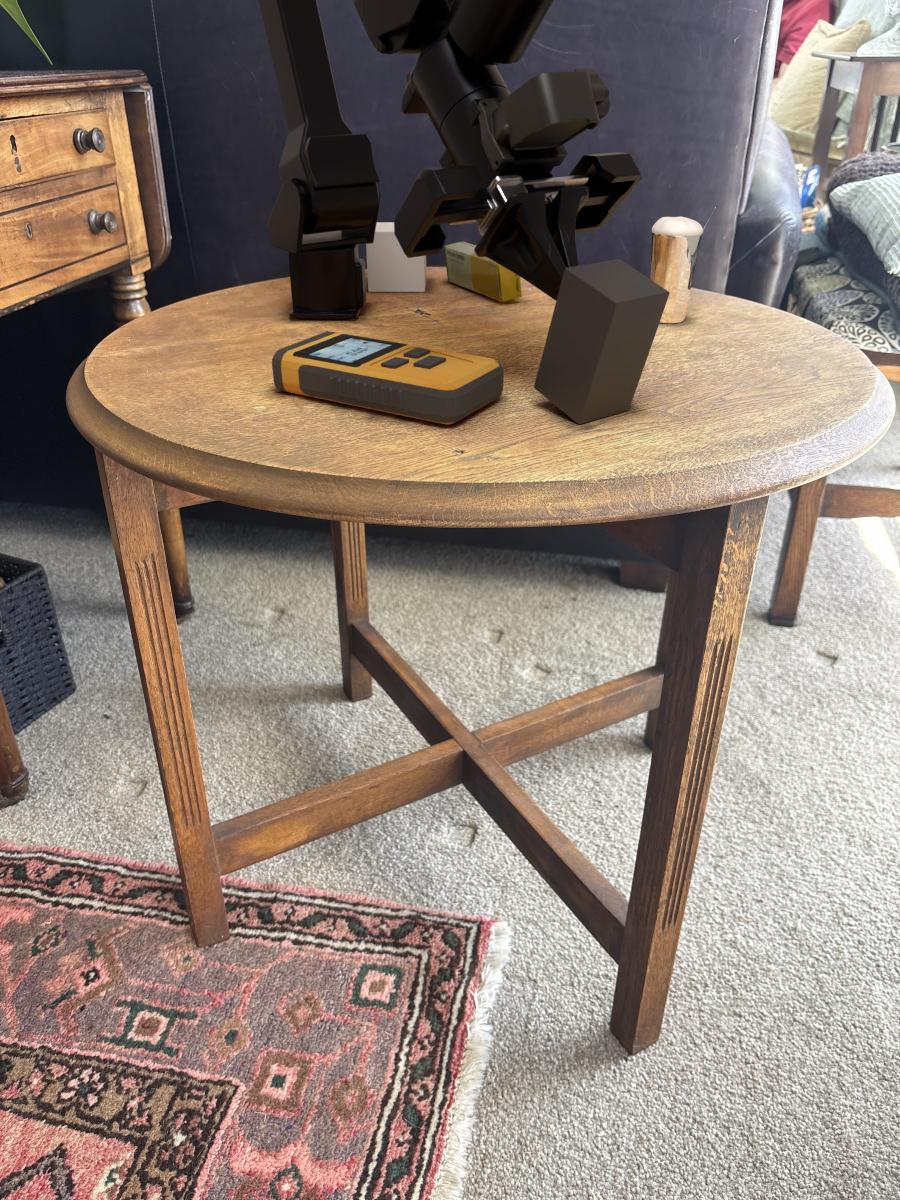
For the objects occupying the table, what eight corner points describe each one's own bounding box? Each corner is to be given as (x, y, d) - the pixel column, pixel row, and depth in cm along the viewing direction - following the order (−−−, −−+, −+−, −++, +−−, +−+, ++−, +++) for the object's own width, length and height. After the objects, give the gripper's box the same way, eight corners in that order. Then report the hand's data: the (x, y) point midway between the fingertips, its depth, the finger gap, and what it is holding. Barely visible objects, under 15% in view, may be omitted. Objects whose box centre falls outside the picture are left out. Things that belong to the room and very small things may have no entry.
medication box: (445, 282, 103) (441, 244, 101) (467, 277, 104) (463, 240, 102) (500, 303, 94) (497, 261, 92) (523, 297, 95) (521, 256, 92)
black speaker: (530, 386, 67) (562, 265, 61) (581, 373, 70) (616, 256, 63) (578, 425, 64) (616, 303, 58) (629, 410, 67) (670, 292, 61)
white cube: (368, 292, 99) (365, 231, 96) (372, 279, 104) (370, 222, 101) (425, 291, 99) (424, 231, 96) (426, 279, 104) (425, 222, 101)
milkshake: (700, 327, 87) (716, 211, 82) (641, 324, 88) (653, 209, 82) (699, 315, 90) (714, 203, 85) (643, 312, 91) (654, 201, 86)
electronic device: (451, 435, 63) (451, 387, 61) (270, 395, 70) (266, 350, 68) (509, 399, 69) (510, 354, 68) (337, 365, 76) (335, 323, 74)
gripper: (412, 18, 55) (531, 241, 53) (634, 22, 65) (742, 211, 62) (350, 158, 64) (448, 352, 62) (551, 143, 74) (643, 310, 72)
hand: (575, 303), depth 64 cm, fingers closed
